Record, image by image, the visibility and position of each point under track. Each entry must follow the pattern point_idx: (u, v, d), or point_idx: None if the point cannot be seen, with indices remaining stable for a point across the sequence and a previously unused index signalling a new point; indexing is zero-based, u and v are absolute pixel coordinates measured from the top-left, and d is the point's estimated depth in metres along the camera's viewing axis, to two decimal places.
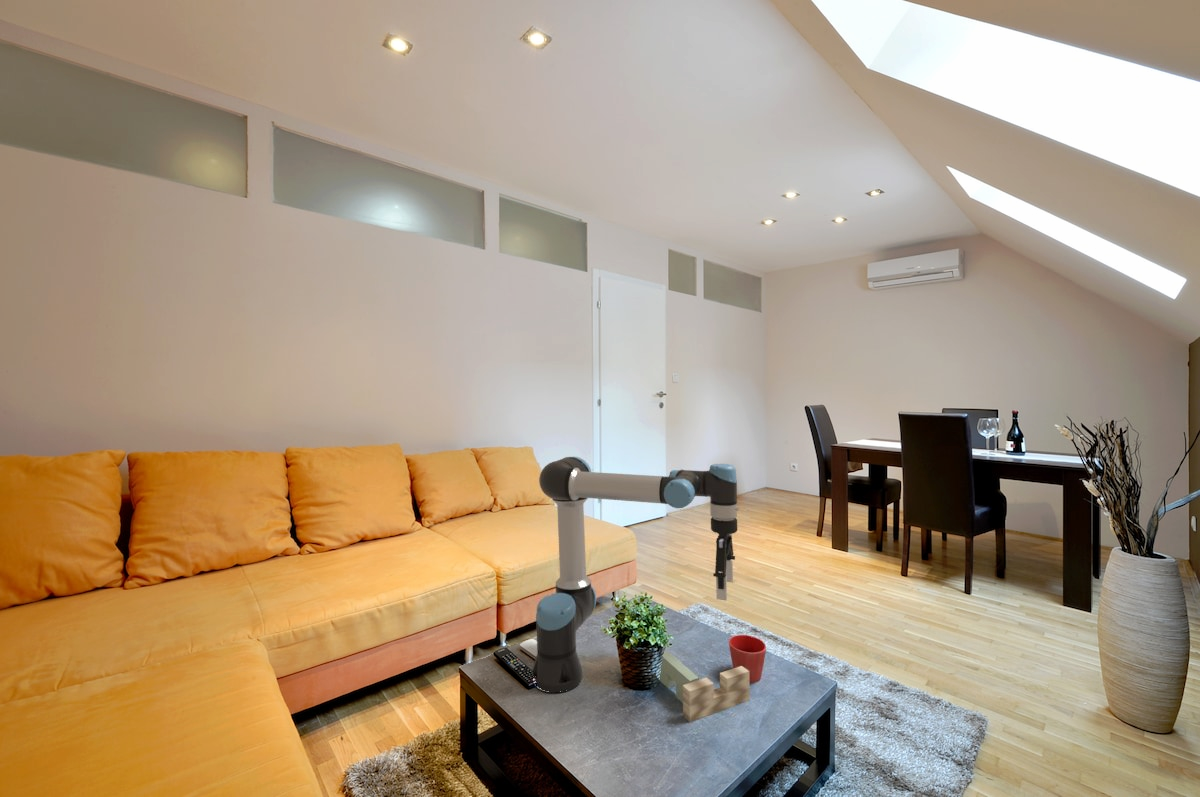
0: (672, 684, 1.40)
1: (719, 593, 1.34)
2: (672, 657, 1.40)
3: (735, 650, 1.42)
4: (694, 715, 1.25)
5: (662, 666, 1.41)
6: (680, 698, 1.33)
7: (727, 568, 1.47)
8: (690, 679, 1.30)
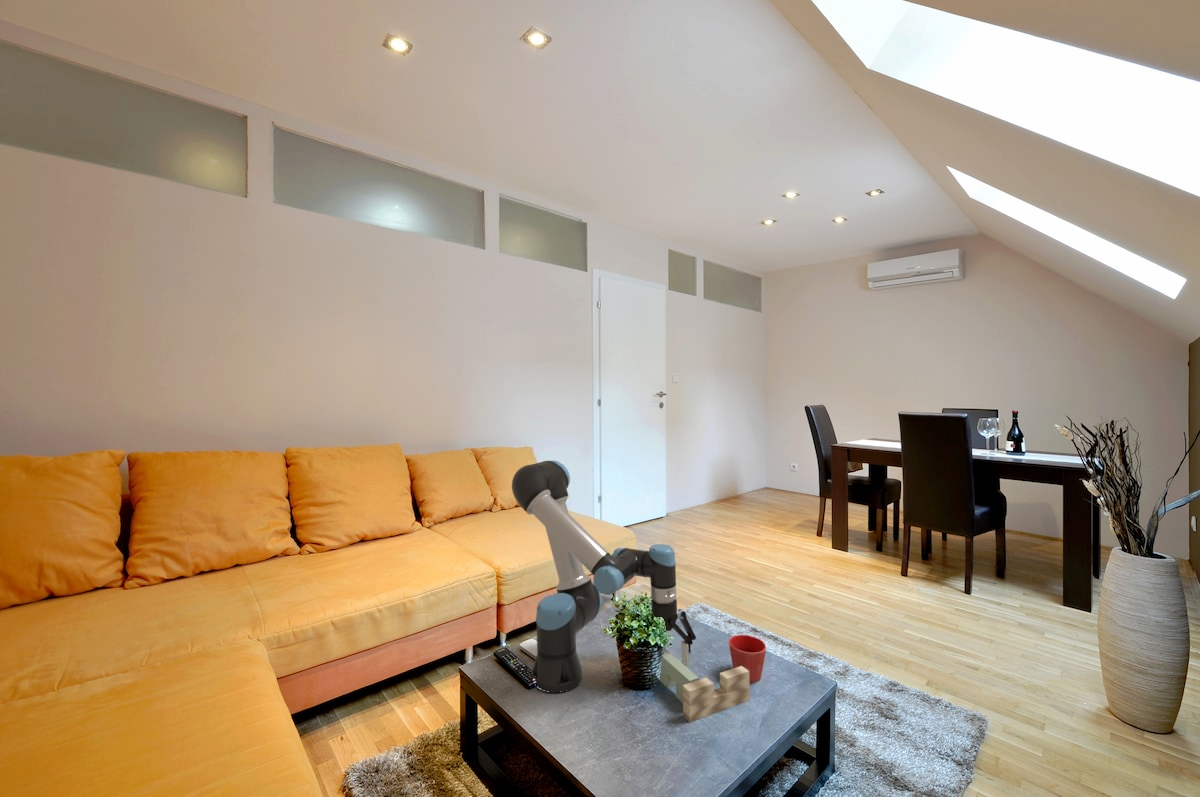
0: (672, 684, 1.40)
1: None
2: (672, 657, 1.40)
3: (735, 650, 1.42)
4: (694, 715, 1.25)
5: (662, 666, 1.41)
6: (680, 698, 1.33)
7: (683, 650, 1.46)
8: (690, 679, 1.30)
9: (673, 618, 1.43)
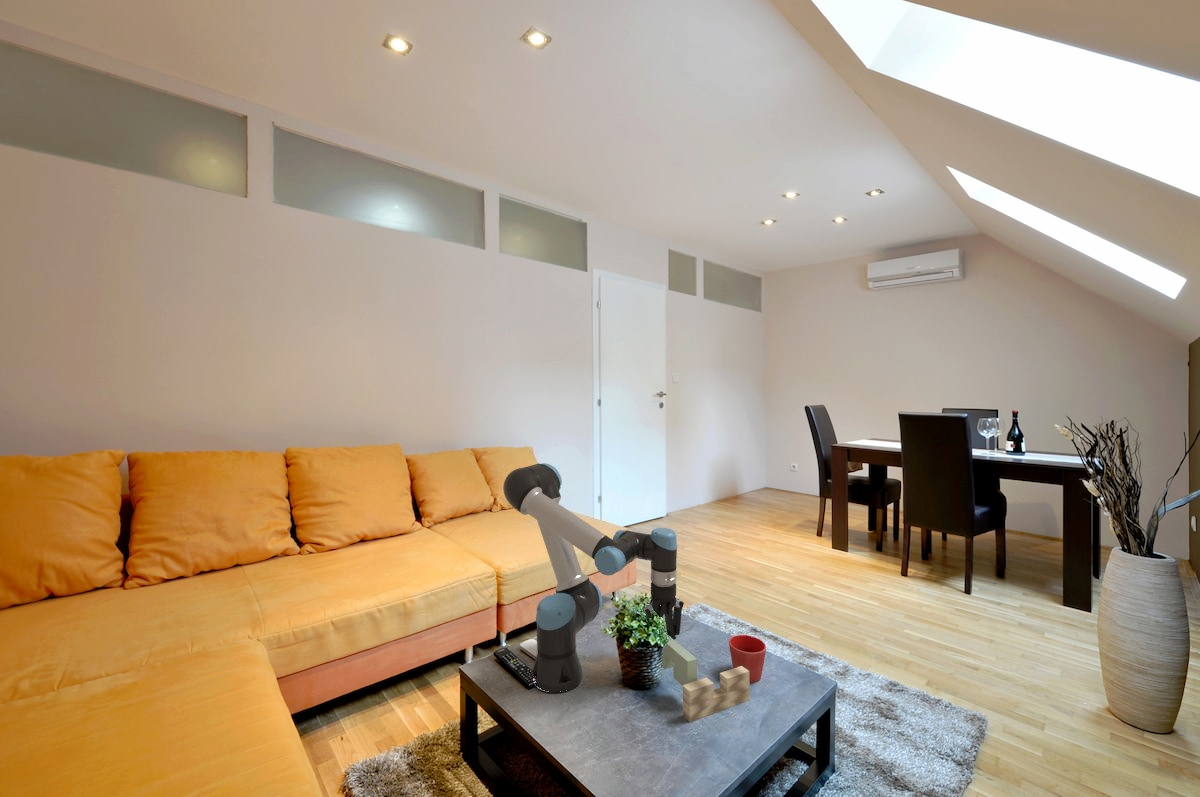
0: (670, 666, 1.40)
1: None
2: None
3: (735, 650, 1.42)
4: (694, 715, 1.25)
5: None
6: (677, 679, 1.33)
7: None
8: (688, 660, 1.30)
9: (672, 600, 1.43)
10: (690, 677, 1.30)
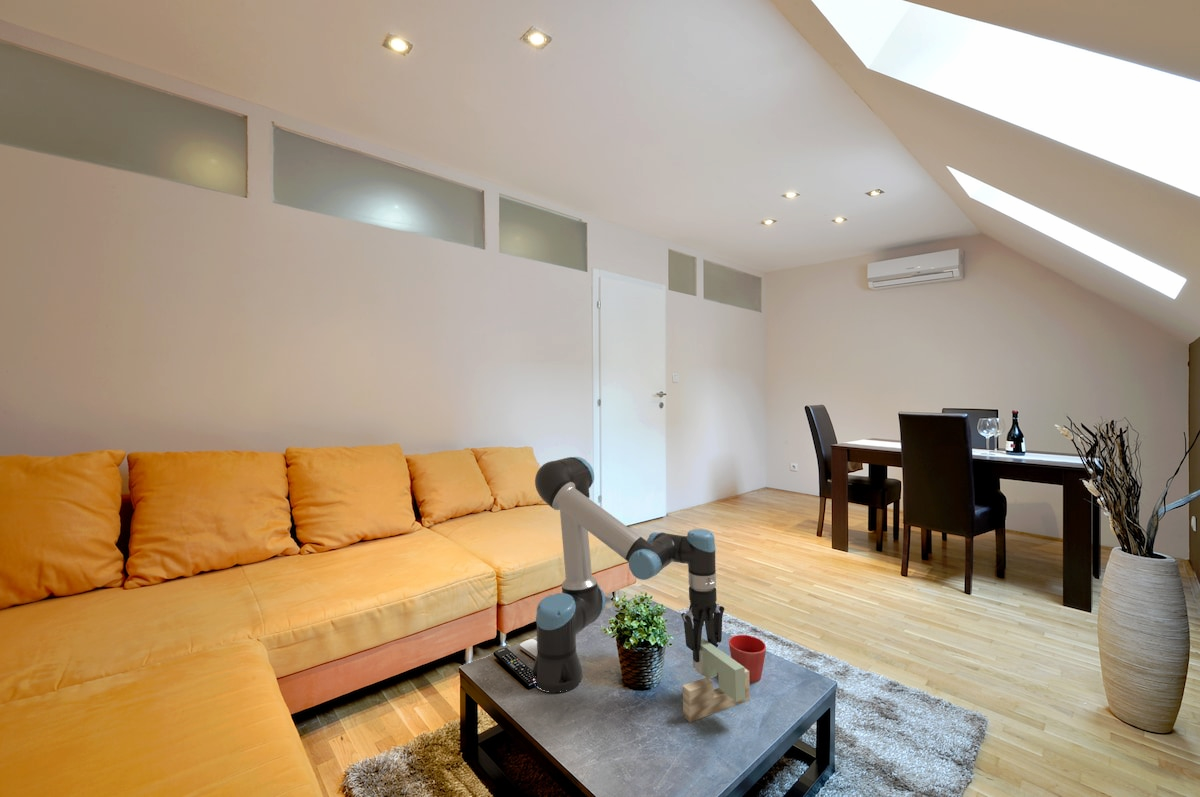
0: (713, 675, 1.32)
1: (696, 665, 1.34)
2: (713, 647, 1.32)
3: (735, 650, 1.42)
4: (694, 715, 1.25)
5: None
6: (724, 689, 1.25)
7: None
8: (735, 668, 1.22)
9: (712, 606, 1.35)
10: (738, 687, 1.21)
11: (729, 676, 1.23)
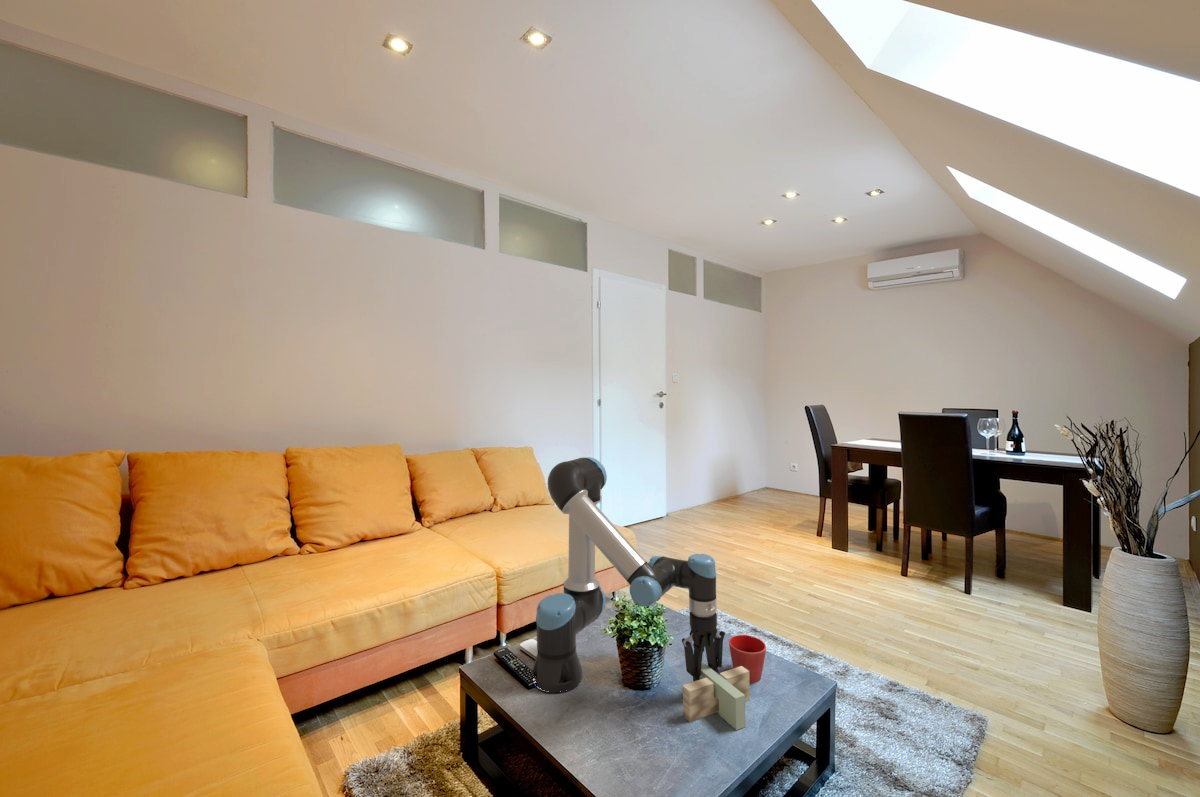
0: None
1: None
2: (713, 673, 1.32)
3: (735, 650, 1.42)
4: (694, 715, 1.25)
5: None
6: (724, 717, 1.25)
7: None
8: (736, 697, 1.22)
9: (712, 631, 1.35)
10: (739, 715, 1.22)
11: (729, 704, 1.23)
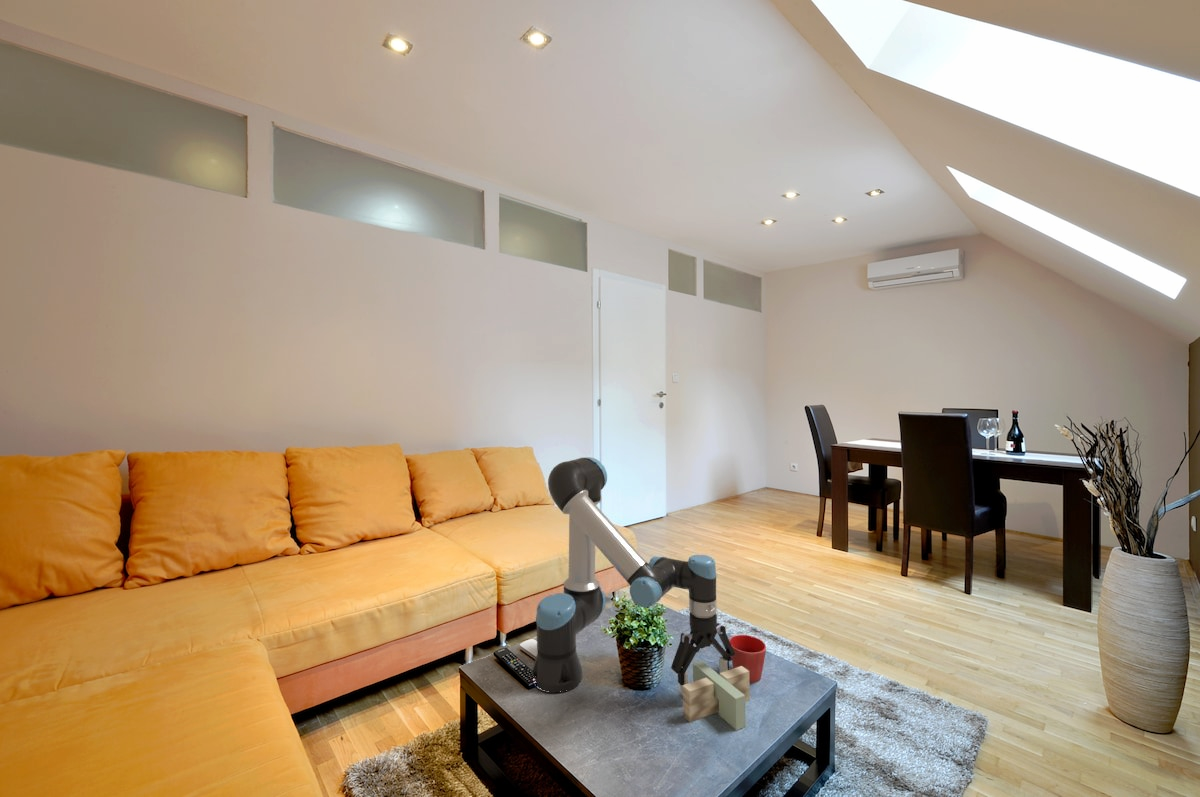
0: None
1: (681, 688, 1.33)
2: (713, 673, 1.32)
3: (735, 650, 1.42)
4: (694, 715, 1.25)
5: None
6: (724, 717, 1.25)
7: (722, 667, 1.38)
8: (736, 697, 1.22)
9: (712, 633, 1.35)
10: (739, 716, 1.22)
11: (729, 704, 1.23)
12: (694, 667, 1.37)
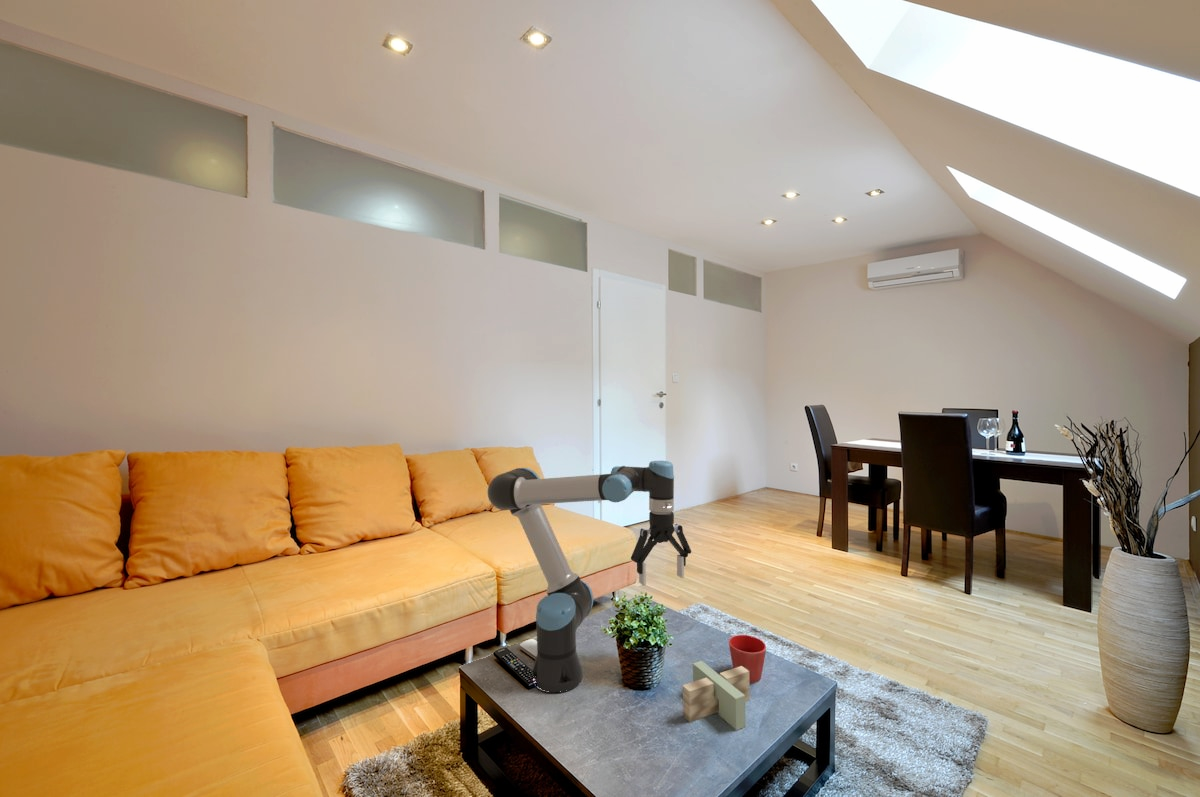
0: None
1: (640, 577, 1.46)
2: (713, 673, 1.32)
3: (735, 650, 1.42)
4: (694, 715, 1.25)
5: None
6: (724, 717, 1.25)
7: (679, 563, 1.51)
8: (736, 697, 1.22)
9: (670, 530, 1.49)
10: (739, 716, 1.22)
11: (729, 704, 1.23)
12: (694, 667, 1.37)
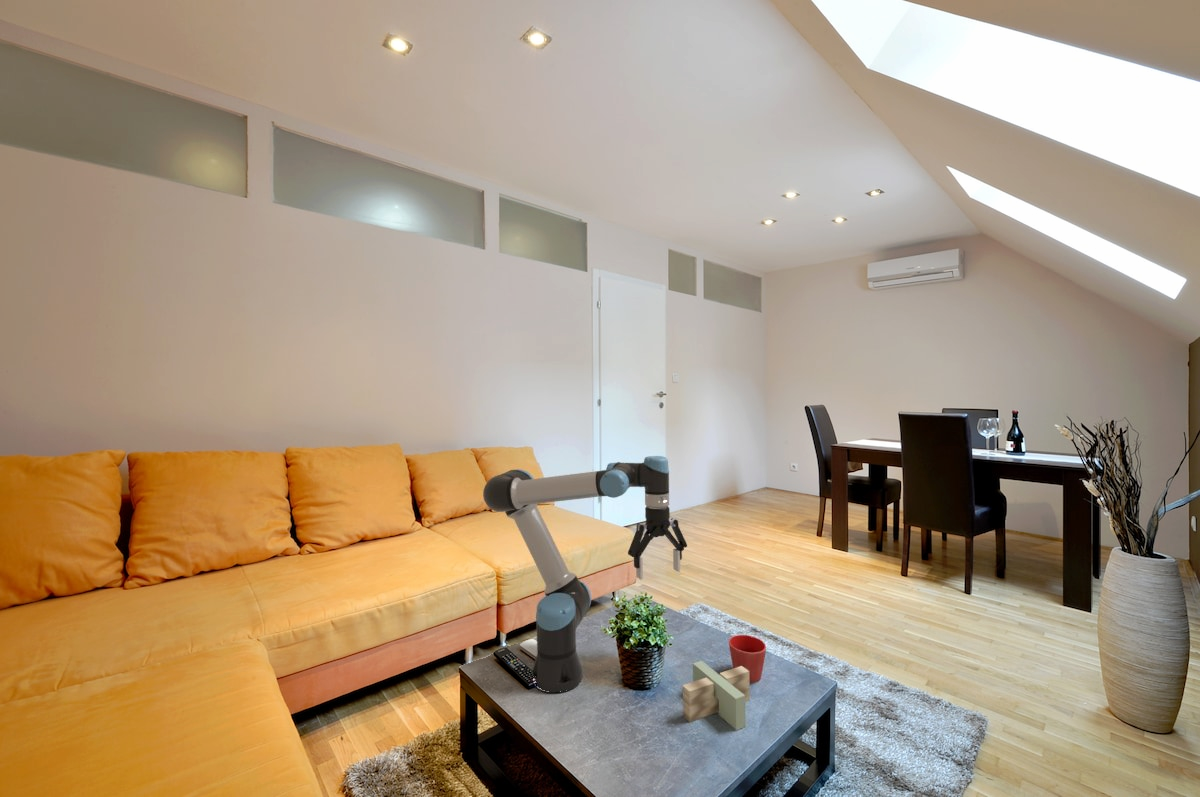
0: None
1: (637, 572, 1.48)
2: (713, 673, 1.32)
3: (735, 650, 1.42)
4: (694, 715, 1.25)
5: None
6: (724, 717, 1.25)
7: (675, 557, 1.53)
8: (736, 697, 1.22)
9: (666, 525, 1.50)
10: (739, 716, 1.22)
11: (729, 704, 1.23)
12: (694, 667, 1.37)
